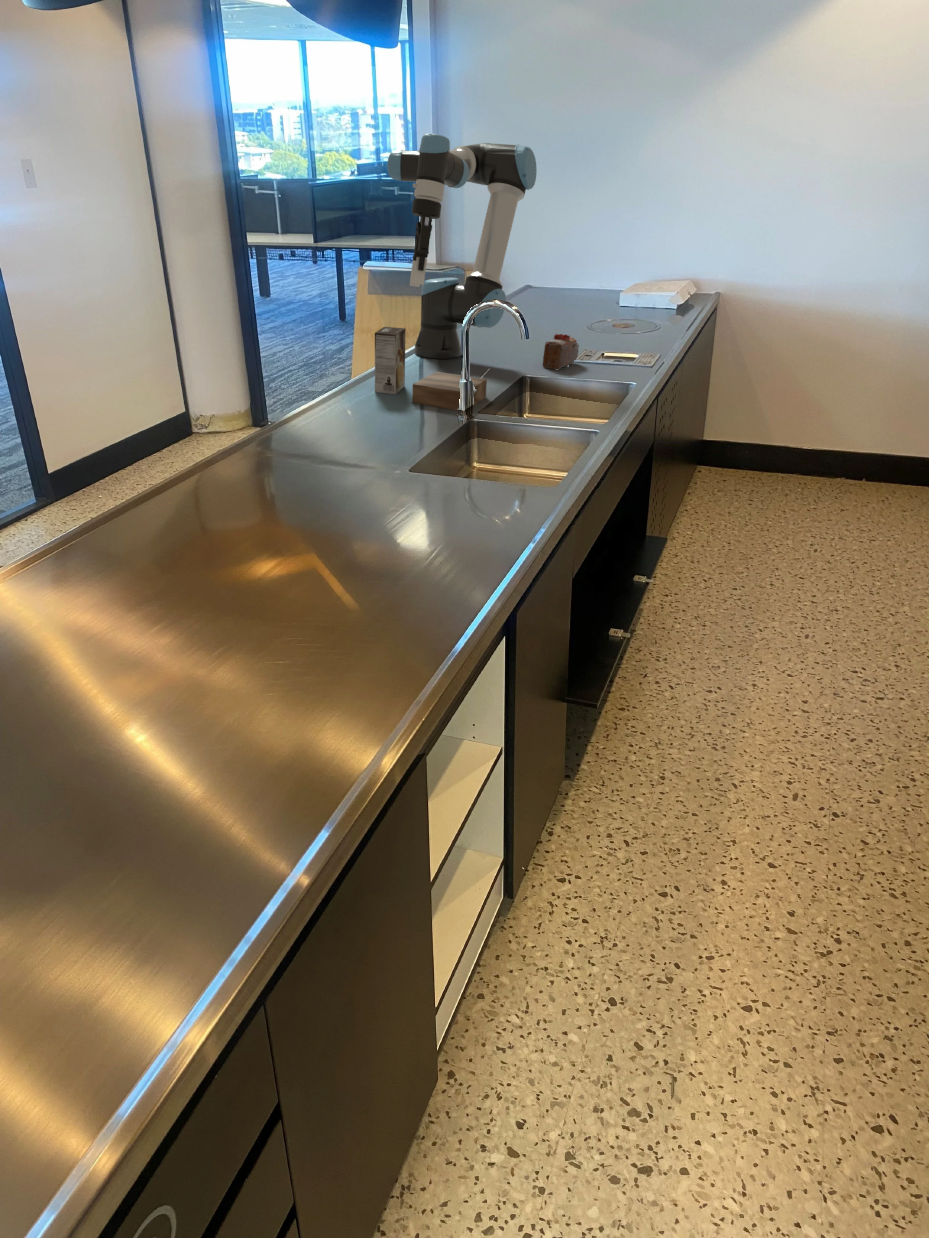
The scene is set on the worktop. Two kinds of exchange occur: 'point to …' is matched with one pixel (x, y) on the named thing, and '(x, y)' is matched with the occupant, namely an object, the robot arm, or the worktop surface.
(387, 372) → the coffee box
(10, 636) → the worktop surface
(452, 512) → the worktop surface
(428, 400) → the walnut base
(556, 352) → the food item
